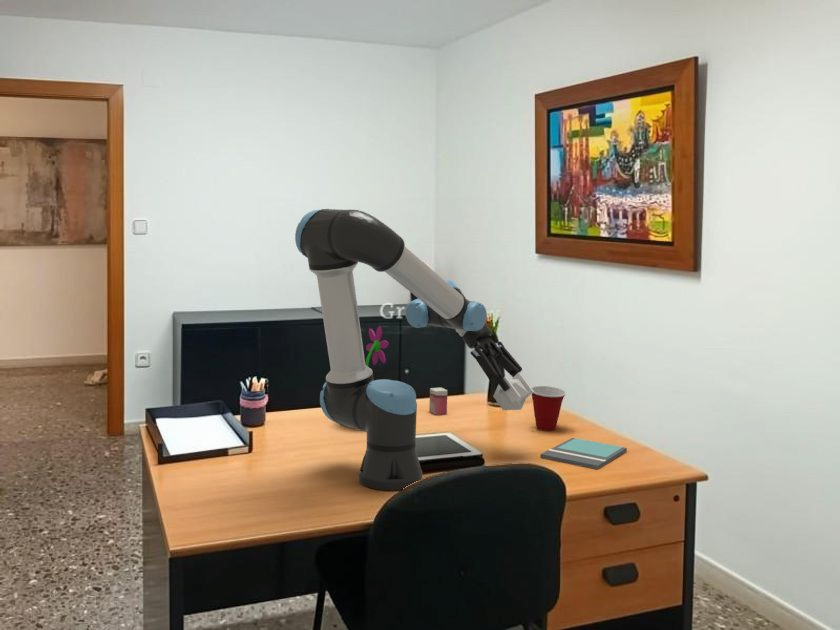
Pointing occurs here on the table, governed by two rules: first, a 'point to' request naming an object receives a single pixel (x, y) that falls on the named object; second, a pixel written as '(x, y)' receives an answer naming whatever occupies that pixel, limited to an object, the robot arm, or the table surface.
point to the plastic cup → (547, 406)
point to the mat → (584, 453)
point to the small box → (438, 401)
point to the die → (504, 399)
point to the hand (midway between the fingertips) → (523, 396)
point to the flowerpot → (376, 347)
